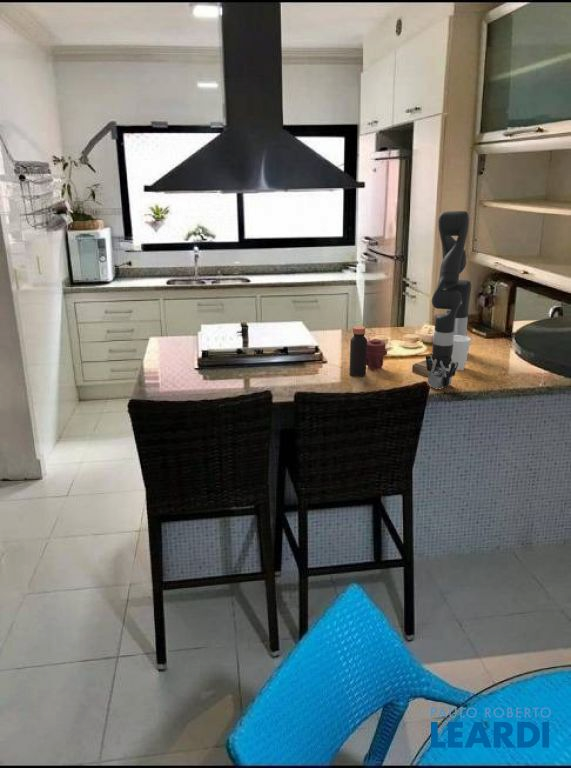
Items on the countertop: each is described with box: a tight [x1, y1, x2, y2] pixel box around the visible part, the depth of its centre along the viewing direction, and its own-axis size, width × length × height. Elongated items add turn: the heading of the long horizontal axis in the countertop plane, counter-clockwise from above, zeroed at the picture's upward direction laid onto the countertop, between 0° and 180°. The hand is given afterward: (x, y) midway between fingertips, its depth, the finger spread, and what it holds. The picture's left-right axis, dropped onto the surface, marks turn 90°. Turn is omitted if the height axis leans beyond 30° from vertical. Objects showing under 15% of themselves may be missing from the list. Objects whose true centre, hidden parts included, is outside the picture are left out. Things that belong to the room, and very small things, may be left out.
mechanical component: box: [366, 338, 388, 372], centre depth 253 cm, size 12×10×10 cm
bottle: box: [349, 325, 368, 378], centre depth 244 cm, size 7×7×20 cm
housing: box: [427, 369, 453, 390], centre depth 233 cm, size 8×5×6 cm, turn 128°
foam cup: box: [450, 335, 472, 371], centre depth 252 cm, size 10×9×13 cm
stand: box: [412, 359, 446, 377], centre depth 249 cm, size 10×10×4 cm
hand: (439, 383), depth 234 cm, fingers closed on housing, 5 cm apart
